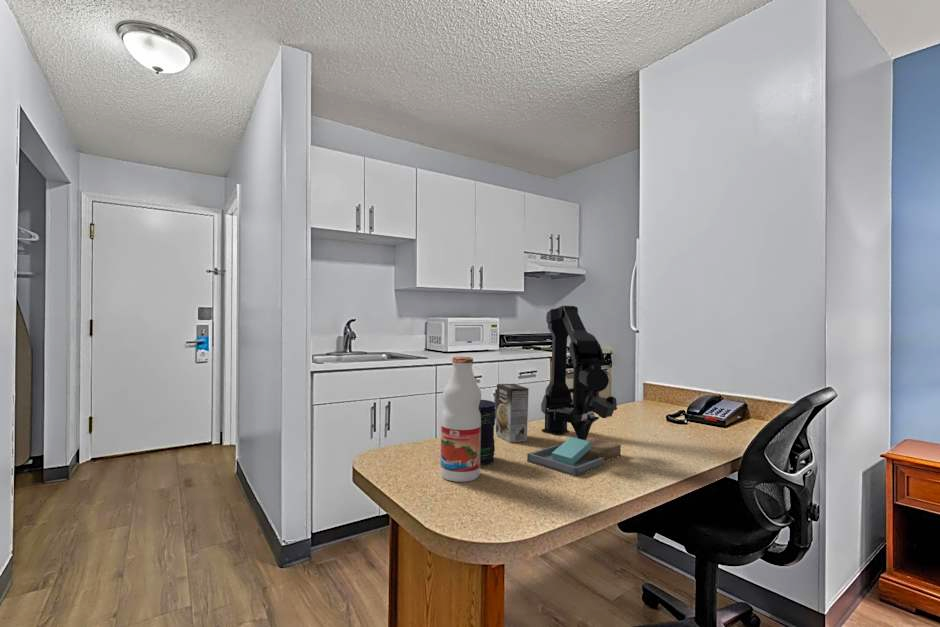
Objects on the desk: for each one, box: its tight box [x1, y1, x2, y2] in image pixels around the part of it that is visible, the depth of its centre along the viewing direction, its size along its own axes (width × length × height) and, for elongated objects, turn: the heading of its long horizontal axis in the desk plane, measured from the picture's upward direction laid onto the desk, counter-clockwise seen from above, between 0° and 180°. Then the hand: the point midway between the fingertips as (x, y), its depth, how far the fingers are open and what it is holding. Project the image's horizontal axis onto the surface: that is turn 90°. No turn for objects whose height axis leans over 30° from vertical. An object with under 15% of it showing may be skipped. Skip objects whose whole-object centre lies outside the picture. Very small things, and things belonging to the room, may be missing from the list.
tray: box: [526, 444, 605, 477], centre depth 125 cm, size 15×12×2 cm
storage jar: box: [479, 399, 496, 466], centre depth 127 cm, size 10×10×15 cm
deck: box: [560, 436, 622, 462], centre depth 133 cm, size 12×11×3 cm
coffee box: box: [495, 383, 530, 444], centre depth 148 cm, size 9×6×16 cm
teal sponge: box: [552, 436, 591, 465], centre depth 127 cm, size 6×9×2 cm, turn 134°
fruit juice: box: [439, 356, 482, 483], centre depth 115 cm, size 9×9×28 cm
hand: (582, 443), depth 130 cm, fingers closed
